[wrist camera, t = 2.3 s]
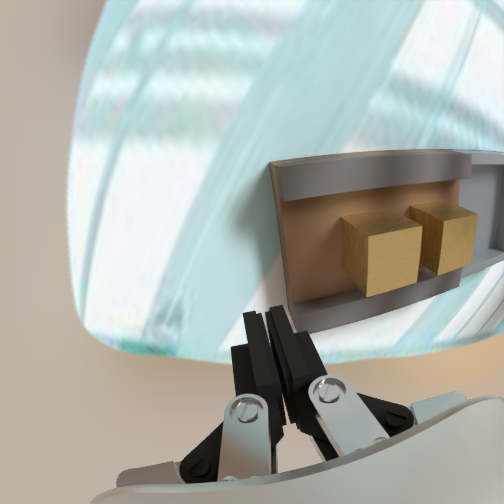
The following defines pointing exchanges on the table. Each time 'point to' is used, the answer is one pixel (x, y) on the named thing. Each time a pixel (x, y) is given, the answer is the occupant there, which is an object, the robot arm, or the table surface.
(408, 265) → the golden wooden cube
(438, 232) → the tan cube
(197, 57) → the table surface
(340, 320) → the slot block
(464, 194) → the tray
